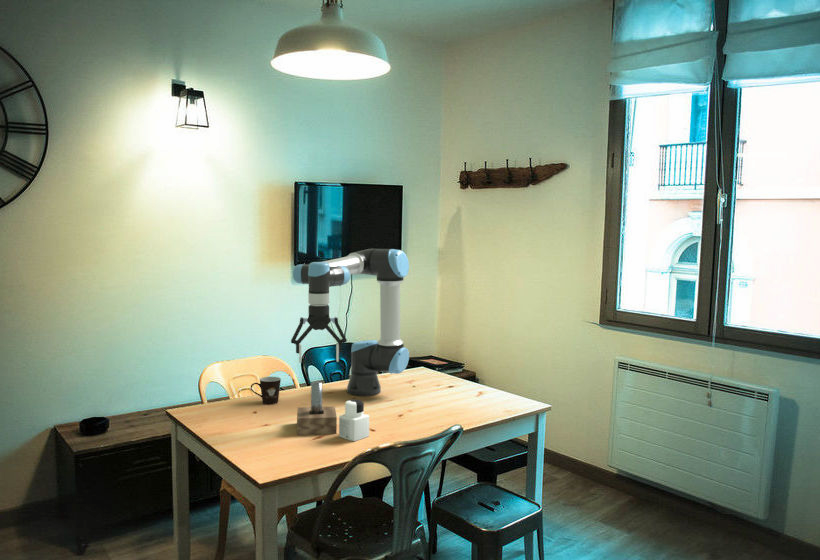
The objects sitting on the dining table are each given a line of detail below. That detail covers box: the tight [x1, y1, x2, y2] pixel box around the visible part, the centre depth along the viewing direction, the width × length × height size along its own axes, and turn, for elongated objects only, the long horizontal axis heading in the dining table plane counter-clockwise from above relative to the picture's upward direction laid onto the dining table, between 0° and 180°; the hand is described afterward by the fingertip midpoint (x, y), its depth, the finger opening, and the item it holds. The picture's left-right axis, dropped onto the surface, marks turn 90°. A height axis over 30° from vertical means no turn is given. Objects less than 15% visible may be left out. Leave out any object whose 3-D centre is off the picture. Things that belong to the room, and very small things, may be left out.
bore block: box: [296, 405, 338, 436], centre depth 234 cm, size 14×14×6 cm
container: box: [338, 398, 370, 442], centre depth 226 cm, size 8×8×13 cm
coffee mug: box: [250, 376, 282, 406], centre depth 267 cm, size 12×9×10 cm
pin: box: [310, 380, 323, 415], centre depth 234 cm, size 4×4×15 cm
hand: (319, 361), depth 235 cm, fingers open, 13 cm apart
